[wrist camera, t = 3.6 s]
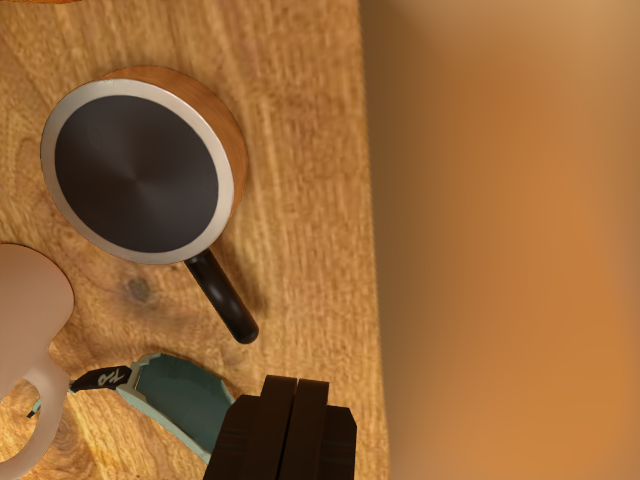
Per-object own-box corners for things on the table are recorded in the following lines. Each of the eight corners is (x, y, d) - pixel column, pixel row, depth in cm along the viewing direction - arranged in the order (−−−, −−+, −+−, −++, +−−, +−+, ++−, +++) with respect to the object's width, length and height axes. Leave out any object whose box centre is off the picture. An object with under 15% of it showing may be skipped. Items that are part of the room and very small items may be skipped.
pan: (37, 113, 26) (-2, 130, 23) (187, 31, 24) (162, 39, 21) (195, 339, 32) (178, 373, 29) (330, 292, 29) (324, 325, 27)
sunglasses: (304, 478, 36) (284, 551, 32) (144, 496, 42) (109, 560, 38) (196, 323, 31) (155, 386, 27) (30, 369, 37) (-25, 426, 32)
